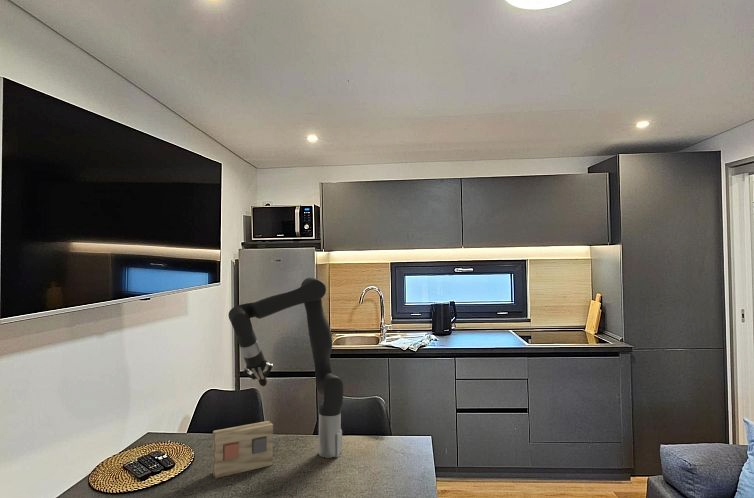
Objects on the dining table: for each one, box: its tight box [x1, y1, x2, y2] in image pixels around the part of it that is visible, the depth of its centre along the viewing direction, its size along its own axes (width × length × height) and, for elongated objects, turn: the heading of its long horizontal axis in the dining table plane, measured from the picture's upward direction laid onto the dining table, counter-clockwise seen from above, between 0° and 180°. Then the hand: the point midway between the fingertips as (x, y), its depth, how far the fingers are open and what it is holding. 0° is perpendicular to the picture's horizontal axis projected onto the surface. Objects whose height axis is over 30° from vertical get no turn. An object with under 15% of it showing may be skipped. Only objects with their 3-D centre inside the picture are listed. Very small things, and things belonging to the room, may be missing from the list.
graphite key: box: [252, 436, 267, 454], centre depth 182 cm, size 3×5×5 cm, turn 122°
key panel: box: [212, 420, 274, 479], centre depth 181 cm, size 5×22×16 cm, turn 122°
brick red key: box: [223, 442, 239, 460], centre depth 176 cm, size 3×5×5 cm, turn 122°
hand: (264, 384), depth 194 cm, fingers closed
